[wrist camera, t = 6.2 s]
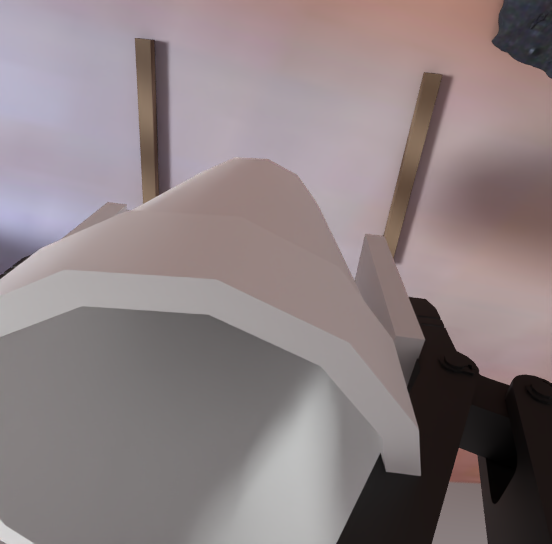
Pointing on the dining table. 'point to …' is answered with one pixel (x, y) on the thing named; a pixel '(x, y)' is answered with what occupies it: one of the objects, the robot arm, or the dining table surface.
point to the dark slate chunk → (527, 32)
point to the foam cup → (196, 374)
